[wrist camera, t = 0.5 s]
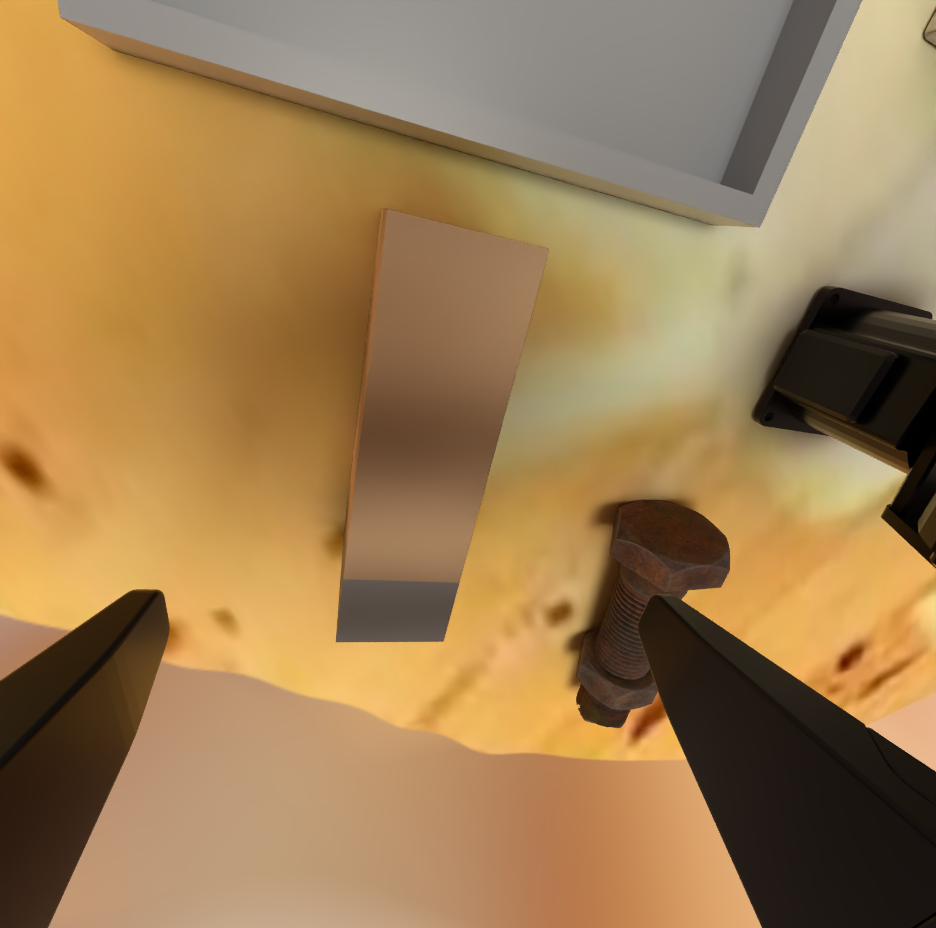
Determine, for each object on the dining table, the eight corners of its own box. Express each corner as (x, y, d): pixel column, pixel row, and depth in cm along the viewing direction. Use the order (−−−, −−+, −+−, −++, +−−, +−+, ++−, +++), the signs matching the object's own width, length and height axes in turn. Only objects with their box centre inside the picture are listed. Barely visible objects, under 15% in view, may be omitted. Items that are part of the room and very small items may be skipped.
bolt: (567, 660, 33) (622, 485, 25) (640, 685, 31) (720, 510, 24) (553, 737, 28) (615, 550, 20) (638, 771, 27) (739, 585, 19)
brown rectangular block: (381, 208, 15) (387, 208, 10) (492, 236, 16) (549, 248, 11) (343, 538, 22) (335, 642, 16) (426, 543, 23) (443, 641, 18)
